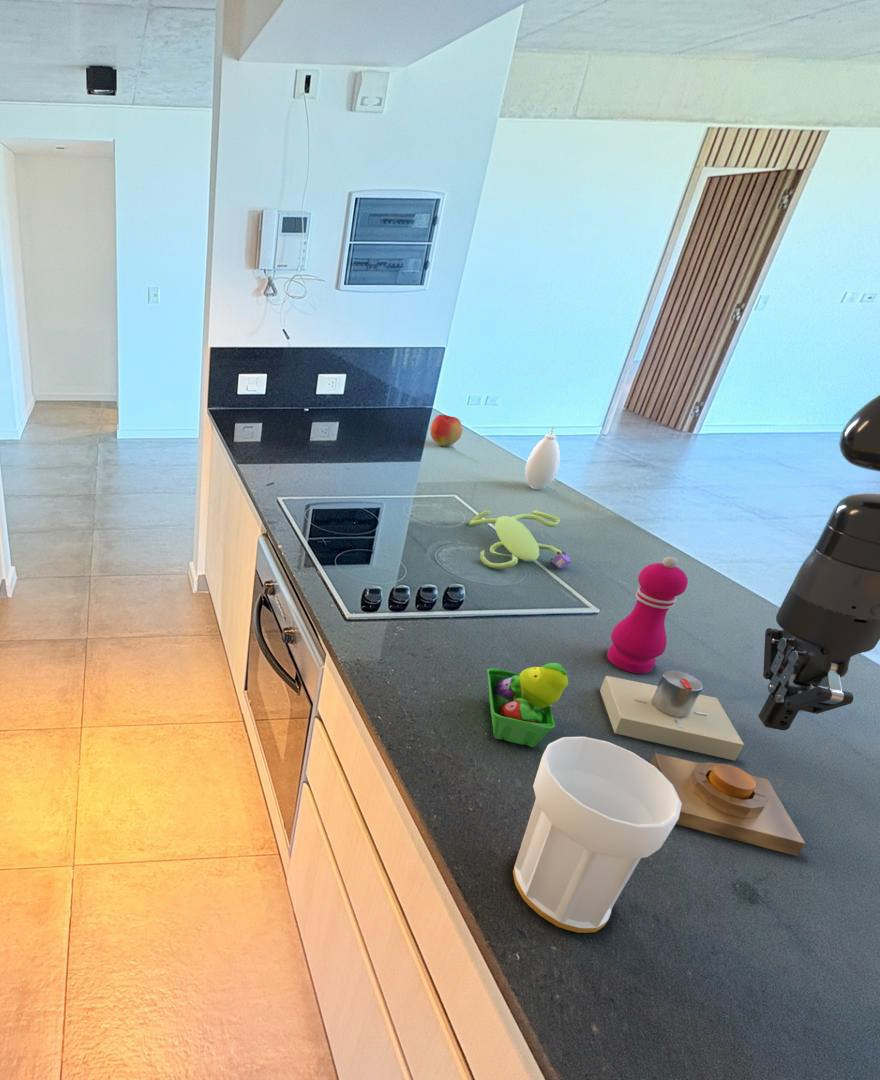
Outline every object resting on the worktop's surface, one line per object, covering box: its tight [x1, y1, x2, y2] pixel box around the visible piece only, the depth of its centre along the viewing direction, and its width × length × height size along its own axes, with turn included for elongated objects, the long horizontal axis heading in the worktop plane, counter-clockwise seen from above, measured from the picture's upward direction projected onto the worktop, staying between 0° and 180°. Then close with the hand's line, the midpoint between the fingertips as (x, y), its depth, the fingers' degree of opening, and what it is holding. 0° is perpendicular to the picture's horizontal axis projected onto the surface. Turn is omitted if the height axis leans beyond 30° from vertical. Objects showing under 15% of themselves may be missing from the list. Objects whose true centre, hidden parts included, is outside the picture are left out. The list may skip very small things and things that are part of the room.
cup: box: [512, 736, 682, 934], centre depth 64 cm, size 11×11×17 cm
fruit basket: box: [486, 662, 569, 748], centre depth 88 cm, size 11×9×11 cm
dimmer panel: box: [599, 675, 745, 762], centre depth 89 cm, size 14×10×3 cm
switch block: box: [649, 752, 806, 857], centre depth 76 cm, size 12×10×4 cm
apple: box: [429, 414, 463, 447], centre depth 205 cm, size 10×10×10 cm
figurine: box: [467, 509, 572, 570], centre depth 139 cm, size 18×27×6 cm
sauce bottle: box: [524, 425, 561, 491], centre depth 168 cm, size 8×8×18 cm
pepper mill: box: [606, 556, 689, 675], centre depth 98 cm, size 7×7×20 cm
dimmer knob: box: [652, 669, 703, 718], centre depth 88 cm, size 4×4×5 cm
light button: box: [708, 763, 756, 800], centre depth 75 cm, size 4×4×2 cm
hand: (771, 724), depth 70 cm, fingers closed
